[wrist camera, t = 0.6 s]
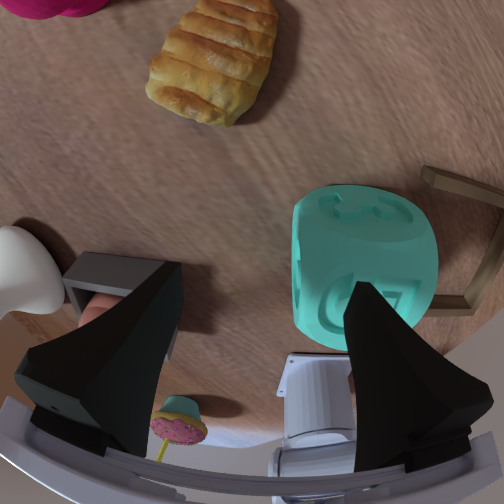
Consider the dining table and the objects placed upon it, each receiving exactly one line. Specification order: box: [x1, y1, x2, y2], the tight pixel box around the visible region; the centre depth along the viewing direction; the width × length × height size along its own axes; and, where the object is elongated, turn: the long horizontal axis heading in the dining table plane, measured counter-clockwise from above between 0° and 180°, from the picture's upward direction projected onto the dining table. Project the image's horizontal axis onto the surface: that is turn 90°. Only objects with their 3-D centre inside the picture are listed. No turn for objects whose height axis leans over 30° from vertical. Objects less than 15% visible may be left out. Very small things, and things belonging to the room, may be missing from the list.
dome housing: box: [62, 252, 178, 362], centre depth 24 cm, size 9×9×4 cm
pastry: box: [145, 0, 279, 128], centre depth 13 cm, size 9×7×4 cm
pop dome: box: [78, 292, 125, 328], centre depth 21 cm, size 6×6×6 cm
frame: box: [420, 165, 504, 317], centre depth 20 cm, size 13×12×2 cm
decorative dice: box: [292, 185, 438, 351], centre depth 18 cm, size 8×8×8 cm
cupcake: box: [150, 396, 208, 462], centre depth 33 cm, size 9×8×12 cm
